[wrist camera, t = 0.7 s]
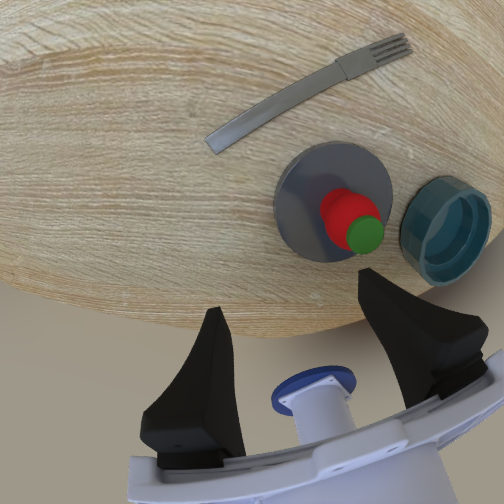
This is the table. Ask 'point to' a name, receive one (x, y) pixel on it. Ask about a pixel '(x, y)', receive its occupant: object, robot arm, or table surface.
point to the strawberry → (352, 221)
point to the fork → (305, 90)
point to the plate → (317, 187)
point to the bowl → (445, 230)
